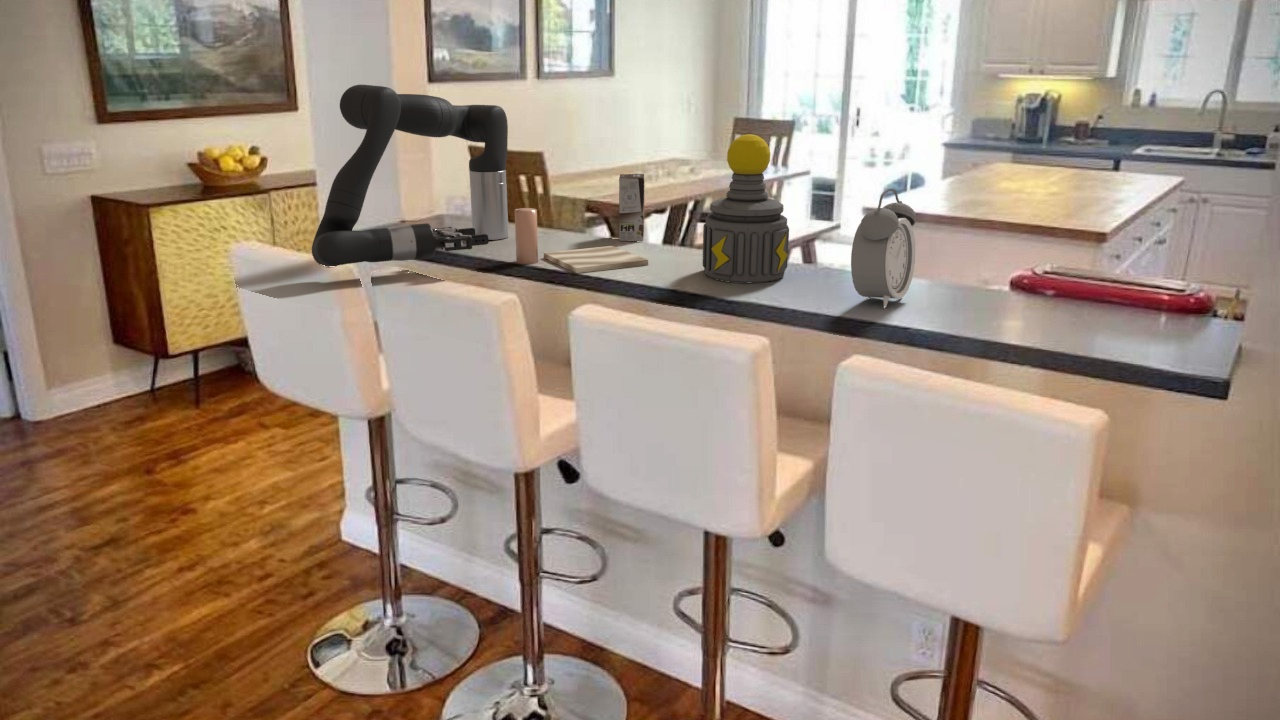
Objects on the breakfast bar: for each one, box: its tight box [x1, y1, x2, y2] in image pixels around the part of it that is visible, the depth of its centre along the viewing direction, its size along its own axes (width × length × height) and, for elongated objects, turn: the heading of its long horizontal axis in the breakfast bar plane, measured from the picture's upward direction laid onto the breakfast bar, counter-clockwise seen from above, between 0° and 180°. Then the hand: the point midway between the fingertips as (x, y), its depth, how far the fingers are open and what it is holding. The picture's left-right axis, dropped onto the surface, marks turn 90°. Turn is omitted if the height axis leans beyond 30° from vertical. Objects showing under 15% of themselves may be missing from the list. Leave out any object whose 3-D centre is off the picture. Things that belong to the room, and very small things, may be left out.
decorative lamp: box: [702, 133, 790, 284], centre depth 204 cm, size 19×19×30 cm
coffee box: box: [618, 173, 645, 242], centre depth 245 cm, size 9×6×16 cm
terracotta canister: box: [514, 207, 539, 265], centre depth 218 cm, size 5×5×12 cm
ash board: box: [543, 245, 649, 274], centre depth 221 cm, size 18×18×1 cm
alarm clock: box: [850, 188, 917, 307], centre depth 184 cm, size 16×9×22 cm, turn 146°
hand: (481, 235), depth 213 cm, fingers open, 8 cm apart
